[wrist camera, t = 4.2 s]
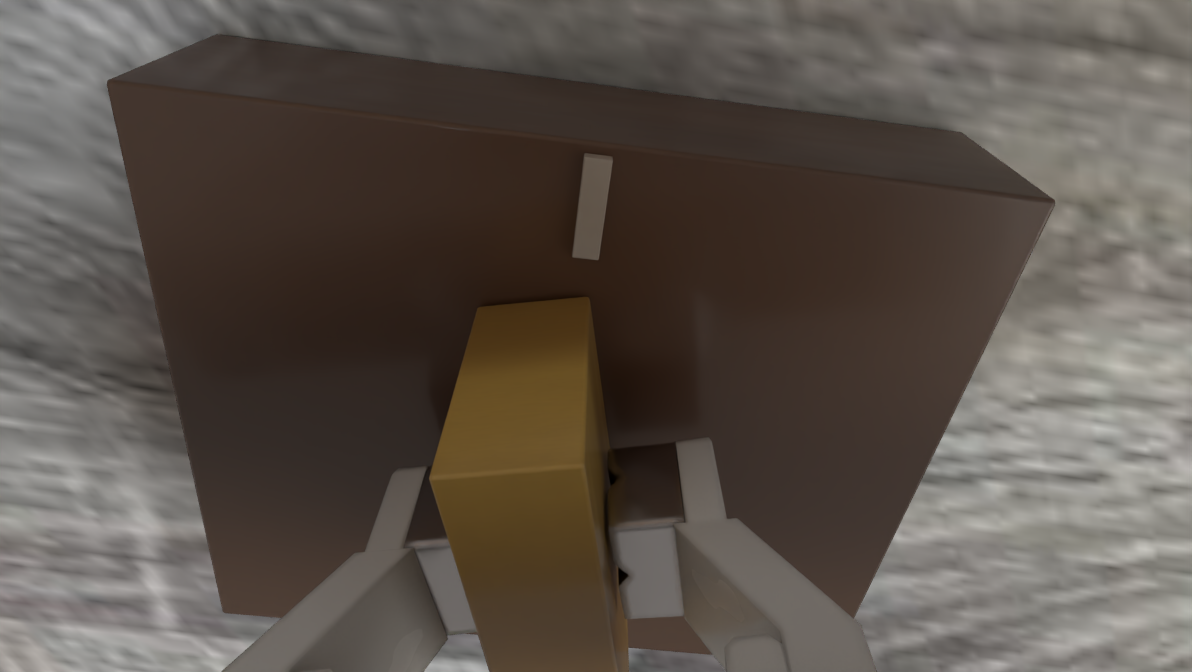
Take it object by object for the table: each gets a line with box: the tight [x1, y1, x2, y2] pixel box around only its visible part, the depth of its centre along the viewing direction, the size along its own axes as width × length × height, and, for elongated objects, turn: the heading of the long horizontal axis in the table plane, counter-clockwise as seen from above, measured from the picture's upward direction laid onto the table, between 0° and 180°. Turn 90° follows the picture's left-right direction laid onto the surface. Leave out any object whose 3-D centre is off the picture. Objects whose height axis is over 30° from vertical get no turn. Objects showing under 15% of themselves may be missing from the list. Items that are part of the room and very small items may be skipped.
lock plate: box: [107, 34, 1055, 655], centre depth 13 cm, size 10×12×3 cm
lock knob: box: [429, 297, 629, 672], centre depth 10 cm, size 6×2×4 cm, turn 6°
